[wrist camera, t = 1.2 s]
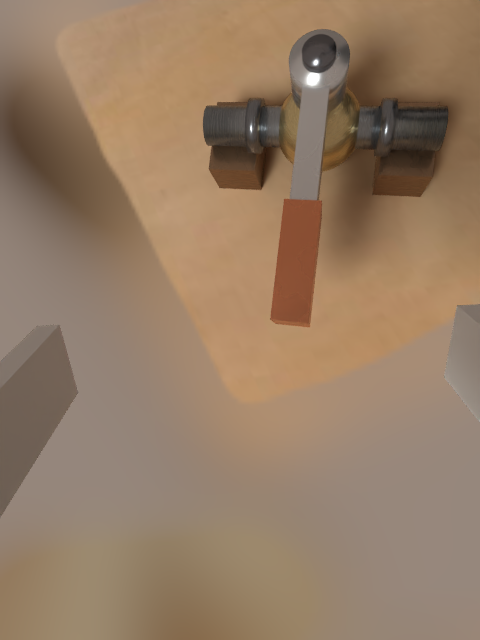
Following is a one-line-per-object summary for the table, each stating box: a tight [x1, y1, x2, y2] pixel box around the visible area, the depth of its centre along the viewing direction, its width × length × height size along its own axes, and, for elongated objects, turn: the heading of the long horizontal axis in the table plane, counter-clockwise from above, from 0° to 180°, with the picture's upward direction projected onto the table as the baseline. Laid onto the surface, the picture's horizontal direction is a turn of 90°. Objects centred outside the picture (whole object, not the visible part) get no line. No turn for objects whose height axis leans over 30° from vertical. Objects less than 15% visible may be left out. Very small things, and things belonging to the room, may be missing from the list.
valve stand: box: [203, 88, 448, 197], centre depth 33 cm, size 18×7×10 cm, turn 83°
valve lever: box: [270, 29, 350, 327], centre depth 26 cm, size 18×4×4 cm, turn 173°
